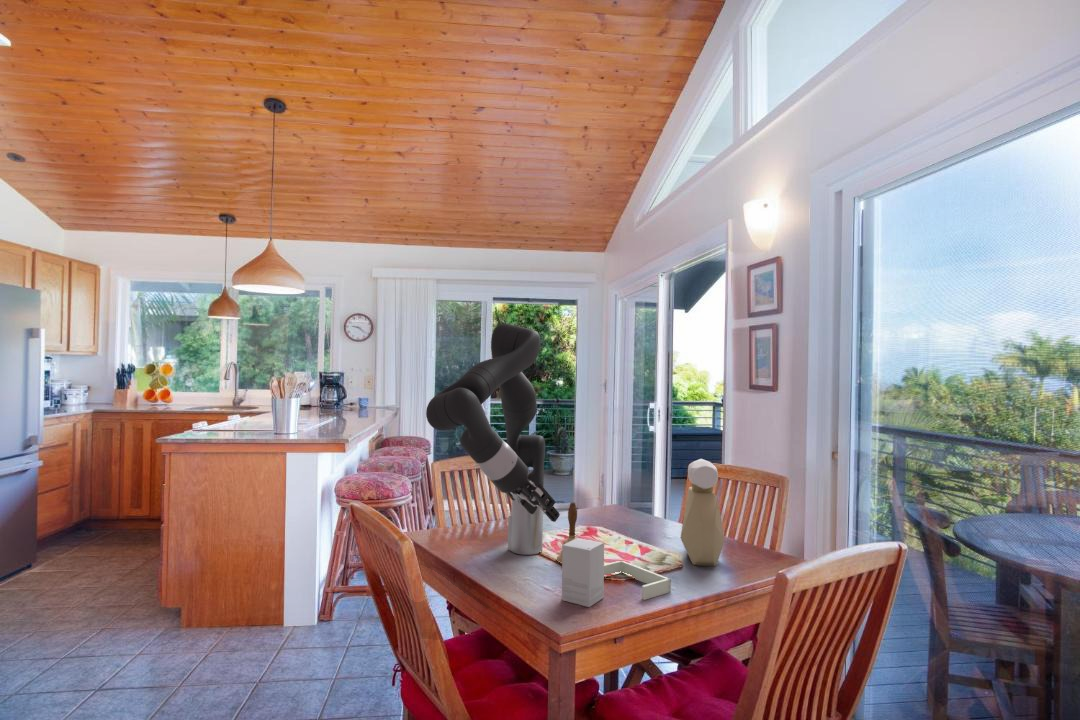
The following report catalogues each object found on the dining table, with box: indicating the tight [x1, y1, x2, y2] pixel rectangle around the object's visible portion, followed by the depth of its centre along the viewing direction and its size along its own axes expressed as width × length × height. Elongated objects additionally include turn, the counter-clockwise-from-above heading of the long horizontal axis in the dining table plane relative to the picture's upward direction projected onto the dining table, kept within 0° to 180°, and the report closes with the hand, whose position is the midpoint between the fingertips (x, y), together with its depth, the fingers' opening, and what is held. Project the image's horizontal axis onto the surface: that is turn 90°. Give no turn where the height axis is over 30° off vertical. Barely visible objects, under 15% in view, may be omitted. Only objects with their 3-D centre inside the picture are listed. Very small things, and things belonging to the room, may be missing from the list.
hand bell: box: [556, 501, 578, 562], centre depth 160 cm, size 8×8×16 cm
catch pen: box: [604, 560, 672, 601], centre depth 142 cm, size 9×17×3 cm, turn 36°
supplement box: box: [561, 537, 605, 608], centre depth 133 cm, size 7×7×13 cm
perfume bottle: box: [680, 458, 726, 567], centre depth 163 cm, size 12×24×28 cm, turn 173°
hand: (545, 514), depth 126 cm, fingers open, 7 cm apart
